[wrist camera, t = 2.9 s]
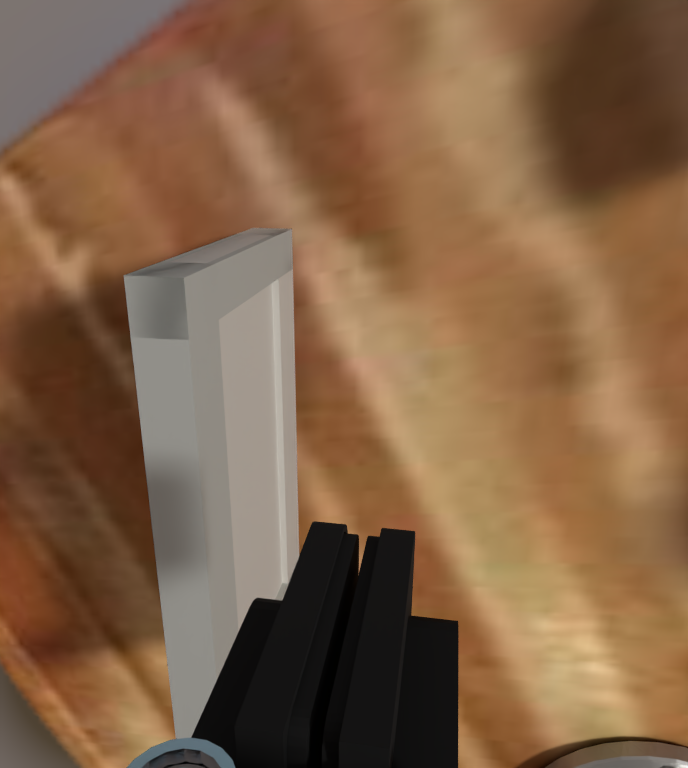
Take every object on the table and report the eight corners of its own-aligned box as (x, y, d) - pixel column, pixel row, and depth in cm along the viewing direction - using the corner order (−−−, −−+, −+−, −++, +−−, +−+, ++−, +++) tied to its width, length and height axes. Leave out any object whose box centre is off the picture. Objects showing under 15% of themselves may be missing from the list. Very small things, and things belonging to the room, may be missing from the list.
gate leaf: (299, 583, 30) (224, 781, 20) (268, 579, 30) (179, 773, 21) (291, 228, 24) (184, 277, 15) (253, 227, 24) (123, 275, 15)
